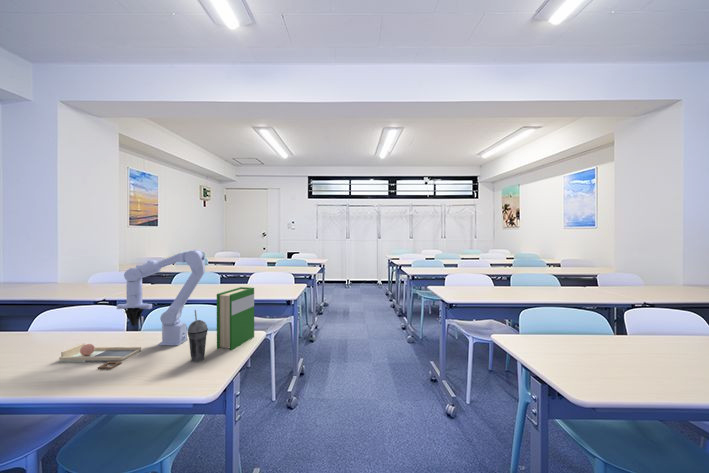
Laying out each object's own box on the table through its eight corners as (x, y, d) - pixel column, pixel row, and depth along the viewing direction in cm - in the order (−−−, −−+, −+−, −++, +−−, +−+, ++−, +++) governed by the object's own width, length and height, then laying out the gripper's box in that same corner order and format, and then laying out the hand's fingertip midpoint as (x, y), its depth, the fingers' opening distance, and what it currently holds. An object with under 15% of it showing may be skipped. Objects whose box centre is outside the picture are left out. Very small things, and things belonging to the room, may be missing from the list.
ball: (85, 356, 119) (98, 351, 123) (81, 345, 119) (94, 340, 123) (79, 358, 120) (92, 353, 124) (75, 348, 120) (89, 343, 125)
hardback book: (231, 350, 128) (231, 294, 128) (216, 348, 130) (216, 293, 130) (254, 336, 146) (254, 287, 146) (240, 335, 147) (240, 287, 147)
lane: (140, 351, 128) (140, 342, 128) (120, 361, 117) (120, 352, 117) (84, 351, 127) (84, 342, 127) (59, 362, 116) (59, 352, 116)
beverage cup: (212, 357, 121) (212, 308, 121) (197, 364, 114) (197, 312, 114) (198, 354, 123) (198, 306, 123) (182, 361, 117) (182, 310, 116)
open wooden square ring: (121, 363, 115) (121, 361, 115) (111, 369, 110) (111, 367, 110) (108, 363, 115) (108, 361, 115) (97, 369, 110) (97, 367, 110)
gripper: (156, 292, 138) (156, 322, 138) (125, 292, 137) (125, 322, 137) (146, 295, 130) (146, 326, 130) (112, 296, 130) (112, 327, 130)
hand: (134, 324), depth 134 cm, fingers closed
